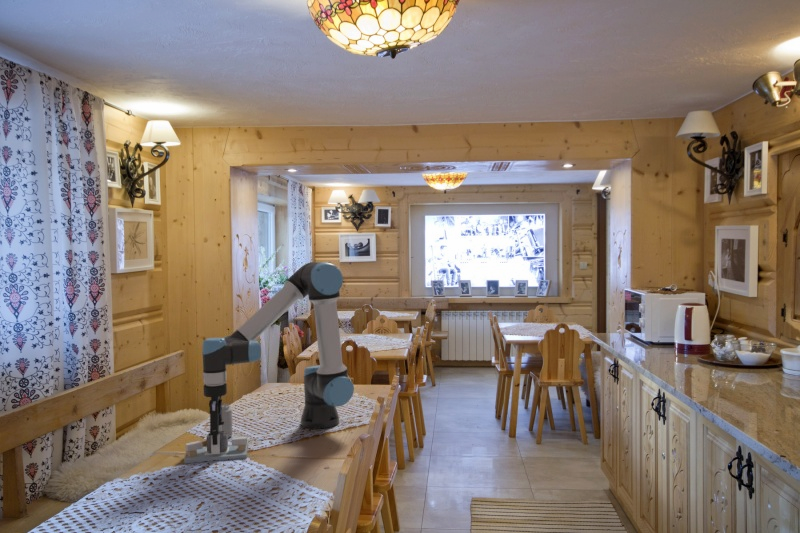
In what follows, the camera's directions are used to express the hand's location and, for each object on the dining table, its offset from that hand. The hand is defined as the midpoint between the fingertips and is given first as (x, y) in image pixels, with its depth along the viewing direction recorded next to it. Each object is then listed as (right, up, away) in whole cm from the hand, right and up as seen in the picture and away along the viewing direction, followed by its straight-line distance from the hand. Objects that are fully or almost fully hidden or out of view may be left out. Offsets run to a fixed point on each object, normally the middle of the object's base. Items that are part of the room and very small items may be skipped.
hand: (217, 448), depth 206 cm
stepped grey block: (0, -1, 0) cm, 1 cm away
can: (-4, -2, +19) cm, 20 cm away
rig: (0, -2, 0) cm, 2 cm away
